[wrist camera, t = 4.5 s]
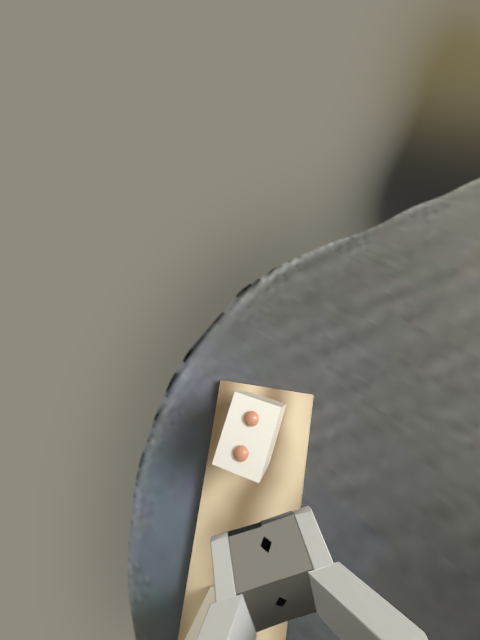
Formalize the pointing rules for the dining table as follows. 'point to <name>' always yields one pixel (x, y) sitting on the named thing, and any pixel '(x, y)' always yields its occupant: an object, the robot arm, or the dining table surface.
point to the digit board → (247, 492)
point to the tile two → (249, 435)
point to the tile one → (201, 615)
